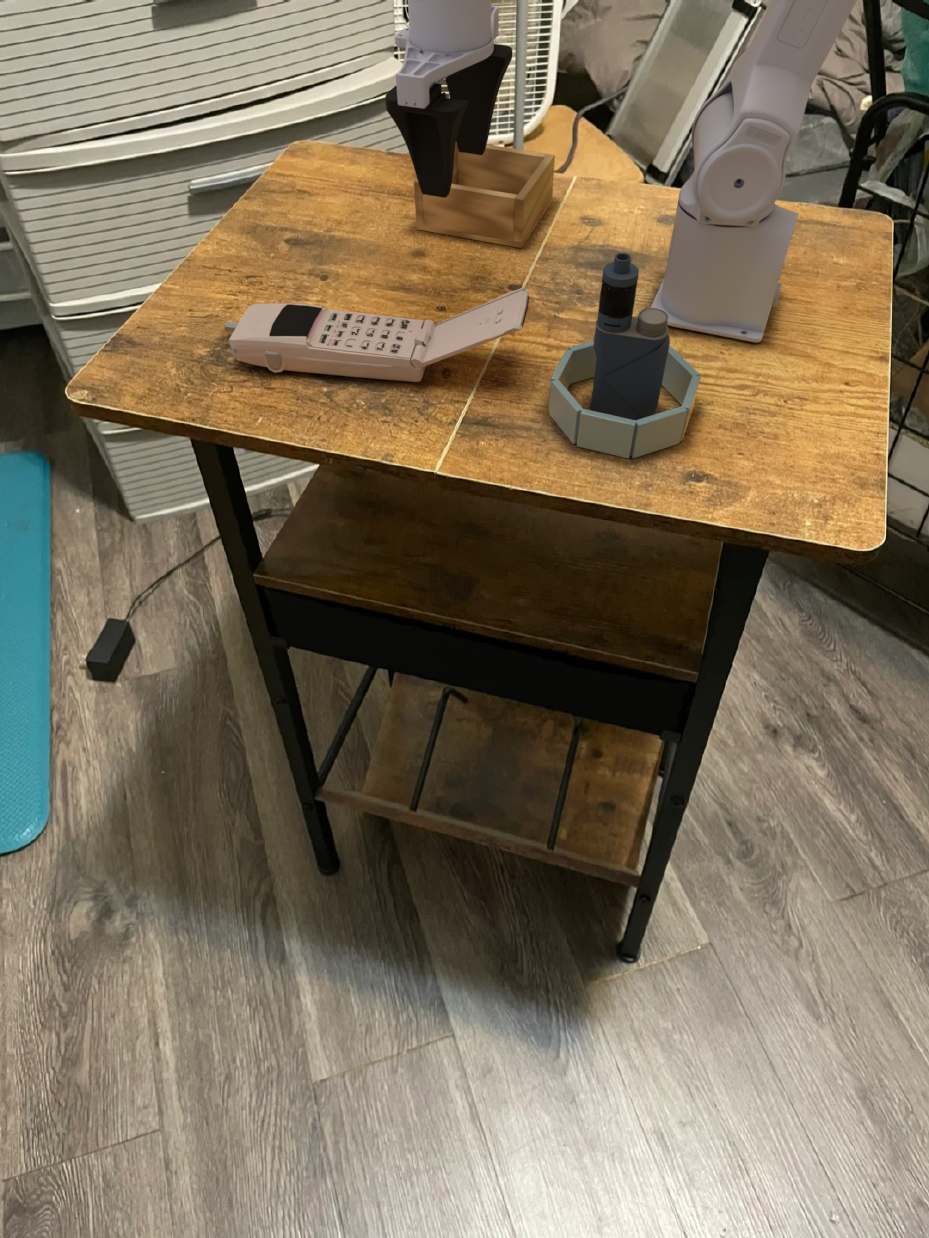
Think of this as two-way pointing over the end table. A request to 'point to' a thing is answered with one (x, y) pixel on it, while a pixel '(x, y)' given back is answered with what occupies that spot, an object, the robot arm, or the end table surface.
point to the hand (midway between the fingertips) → (454, 172)
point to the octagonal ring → (613, 430)
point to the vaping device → (627, 347)
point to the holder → (491, 196)
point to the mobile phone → (366, 338)
